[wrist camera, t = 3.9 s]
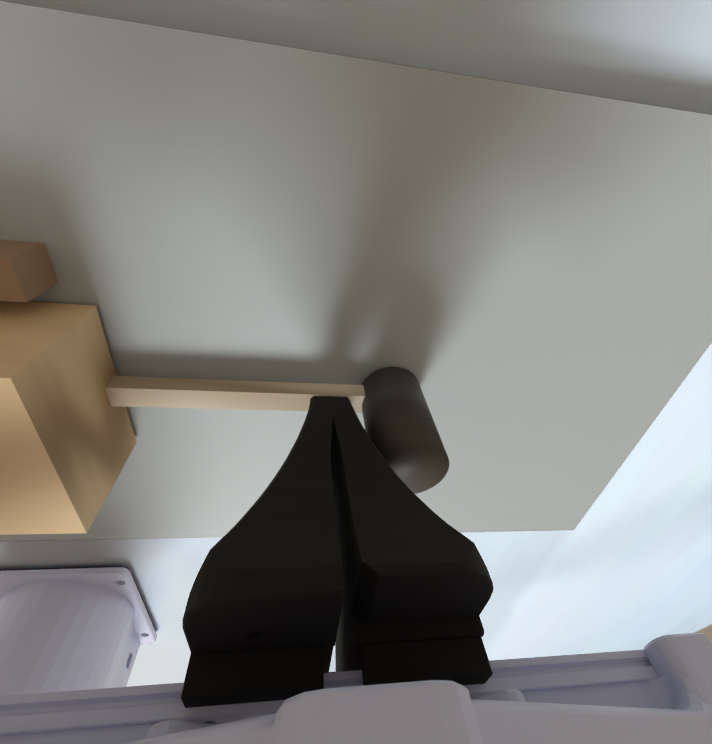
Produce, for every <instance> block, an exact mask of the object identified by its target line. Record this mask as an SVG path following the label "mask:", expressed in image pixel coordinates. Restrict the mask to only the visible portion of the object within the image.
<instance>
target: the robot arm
mask: <svg viewBox="0 0 712 744" xmlns="http://www.w3.org/2000/svg"><path fill="white" fill-rule="evenodd" d="M492 592H493V583H492V580H491V578H490V575H489V572H488V570H487V567H486V565H485V563H484V561H483V559H482V557H481V555H480V554H479V552H478V550H477V548H476V546H475V544H474V543H473V542H472V541H470V540H469V539H468V538H466V537H465V536H464V535H462V534H461V533H460V532H458V531H457V530H456V529H454V528H453V527H452V526H450V525H449V524H448V523H446V522H445V521H444V520H443V519H441V518H440V517H439V516H438V515H437V514H436V513H434V512H433V511H432V510H431V509H430V508H429V507H428V506H427V505H426V504H425V503H424V502H423V501H422V500H420V499H419V498H418V497H417V496H416V495H415V494H414V493H413V492H412V491H411V490H410V489H409V488H408V487H407V485H406V484H405V483H404V482H403V481H402V480H401V479H400V478H399V477H398V475H397V474H396V473H395V472H394V471H393V469H392V468H391V467H390V466H389V464H388V463H387V462H386V461H385V459H384V458H383V456H382V455H381V454H380V452H379V451H378V449H377V448H376V447H375V445H374V444H373V442H372V440H371V439H370V437H369V436H368V434H367V432H366V431H365V429H364V427H363V426H362V424H361V422H360V420H359V418H358V416H357V415H356V413H355V411H354V408H353V406H352V404H351V401H350V399H349V398H348V397H336V396H313V397H312V398H310V405H309V409H308V413H307V416H306V419H305V421H304V424H303V426H302V428H301V431H300V433H299V435H298V438H297V440H296V442H295V443H294V445H293V447H292V449H291V451H290V453H289V455H288V456H287V458H286V460H285V461H284V463H283V465H282V466H281V468H280V469H279V471H278V472H277V474H276V476H275V477H274V478H273V480H272V481H271V483H270V484H269V485H268V487H267V488H266V489H265V491H264V492H263V493H262V495H261V496H260V497H259V498H258V500H257V501H256V502H255V503H254V504H253V506H252V507H251V508H250V509H249V510H248V511H247V512H246V514H245V515H244V516H243V517H242V518H241V519H240V521H239V522H238V523H237V524H236V525H235V526H234V527H233V528H232V529H231V530H230V531H229V532H228V533H227V534H226V535H225V536H224V537H223V538H222V539H221V540H220V541H219V542H218V543H217V544H216V545H215V546H214V547H213V548H212V549H211V550H210V551H209V553H208V555H207V557H206V559H205V561H204V563H203V564H202V566H201V568H200V571H199V573H198V575H197V577H196V579H195V582H194V584H193V587H192V589H191V592H190V595H189V598H188V602H187V606H186V610H185V613H184V617H183V630H184V633H185V636H186V639H187V642H188V645H189V648H190V651H191V656H190V660H189V664H188V669H187V673H186V677H185V682H184V683H173V684H159V685H146V686H132V687H126V685H127V682H128V679H129V676H130V673H131V670H132V667H133V664H134V661H135V658H136V655H137V652H138V649H139V646H140V644H152V643H154V642H155V641H156V637H157V634H156V632H155V629H154V627H153V625H152V622H151V620H150V618H149V615H148V613H147V611H146V608H145V606H144V603H143V601H142V599H141V596H140V594H139V592H138V589H137V587H136V585H135V582H134V580H133V577H132V575H131V573H130V571H129V570H128V569H126V568H123V567H110V568H76V569H42V570H8V571H0V744H712V643H711V641H710V640H709V639H708V637H707V636H706V635H705V634H702V633H689V634H674V635H666V636H661V637H658V638H656V639H654V640H652V641H651V642H649V643H648V644H647V645H646V646H645V647H644V650H632V651H618V652H604V653H591V654H577V655H563V656H549V657H535V658H521V659H507V660H493V661H489V660H488V657H487V654H486V651H485V648H484V645H483V642H482V638H481V637H482V636H483V635H484V629H483V626H482V623H481V620H480V617H479V615H480V613H481V612H482V610H483V609H484V607H485V605H486V604H487V602H488V601H489V599H490V597H491V594H492ZM335 642H336V672H329V667H330V662H331V656H332V651H333V646H335Z"/></svg>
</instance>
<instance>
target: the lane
mask: <svg viewBox="0 0 712 744" xmlns="http://www.w3.org/2000/svg"><path fill="white" fill-rule="evenodd" d="M0 301H11V302H45V303H62V304H78V305H94V306H96V308H97V311H98V314H99V318H100V321H101V324H102V328H103V331H104V334H105V338H106V341H107V345H108V348H109V351H110V355H111V358H112V361H113V365H114V368H115V372H116V375H117V376H132V377H159V378H187V379H214V380H241V381H268V382H295V383H322V384H350V385H362V383H363V382H364V380H365V379H366V378H367V377H368V376H369V375H370V374H371V373H373V372H375V371H377V370H379V369H382V368H386V367H400V368H404V369H406V370H408V371H410V372H411V373H413V374H414V375H415V377H416V378H417V380H418V382H419V385H420V387H421V390H422V392H423V395H424V397H425V400H426V403H427V405H428V408H429V410H430V413H431V415H432V418H433V420H434V423H435V425H436V428H437V430H438V433H439V435H440V438H441V440H442V443H443V445H444V448H445V451H446V453H447V456H448V458H449V469H448V472H447V474H446V475H445V477H444V478H443V479H442V480H441V481H440V482H439V483H438V484H437V485H435V486H434V487H432V488H430V489H428V490H426V491H424V492H421V493H417V494H415V495H416V496H417V497H418V498H419V499H420V500H422V501H423V502H424V503H425V504H426V505H427V506H428V507H429V508H430V509H431V510H432V511H433V512H434V513H436V514H437V515H438V516H439V517H440V518H441V519H443V520H444V521H445V522H446V523H448V524H449V525H450V526H452V527H453V528H454V529H456V530H457V531H458V532H503V531H553V530H574V529H575V528H576V526H577V525H578V523H579V522H580V521H581V519H582V518H583V517H584V515H585V514H586V513H587V511H588V510H589V509H590V507H591V506H592V504H593V503H594V502H595V500H596V499H597V498H598V496H599V495H600V494H601V492H602V491H603V489H604V488H605V487H606V485H607V484H608V483H609V481H610V480H611V479H612V477H613V476H614V475H615V473H616V472H617V470H618V469H619V468H620V466H621V465H622V464H623V462H624V461H625V460H626V458H627V457H628V455H629V454H630V453H631V451H632V450H633V449H634V447H635V446H636V445H637V443H638V442H639V441H640V439H641V438H642V436H643V435H644V434H645V432H646V431H647V430H648V428H649V427H650V426H651V424H652V423H653V421H654V420H655V419H656V417H657V416H658V415H659V413H660V412H661V411H662V409H663V408H664V407H665V405H666V404H667V402H668V401H669V400H670V398H671V397H672V396H673V394H674V393H675V392H676V390H677V389H678V387H679V386H680V385H681V383H682V382H683V381H684V379H685V378H686V377H687V375H688V374H689V373H690V371H691V370H692V368H693V367H694V366H695V364H696V363H697V362H698V360H699V359H700V358H701V356H702V355H703V353H704V352H705V351H706V349H707V348H708V347H709V345H710V344H711V343H712V115H709V114H703V113H696V112H690V111H684V110H678V109H671V108H665V107H659V106H653V105H647V104H640V103H634V102H628V101H622V100H615V99H609V98H603V97H597V96H590V95H584V94H578V93H572V92H566V91H559V90H553V89H547V88H541V87H534V86H528V85H522V84H516V83H510V82H503V81H497V80H491V79H485V78H478V77H472V76H466V75H460V74H454V73H447V72H441V71H435V70H429V69H422V68H416V67H410V66H404V65H398V64H391V63H385V62H379V61H373V60H366V59H360V58H354V57H348V56H342V55H335V54H329V53H323V52H317V51H310V50H304V49H298V48H292V47H286V46H279V45H273V44H267V43H261V42H254V41H248V40H242V39H236V38H229V37H223V36H217V35H211V34H205V33H198V32H192V31H186V30H180V29H173V28H167V27H161V26H155V25H149V24H142V23H136V22H130V21H124V20H117V19H111V18H105V17H99V16H93V15H86V14H80V13H74V12H68V11H61V10H55V9H49V8H43V7H37V6H30V5H24V4H18V3H12V2H5V1H0ZM126 409H127V412H128V415H129V419H130V422H131V425H132V429H133V432H134V436H135V439H136V442H137V443H136V445H135V446H134V448H133V450H132V452H131V454H130V456H129V457H128V459H127V461H126V463H125V465H124V466H123V468H122V470H121V472H120V474H119V476H118V477H117V479H116V481H115V483H114V485H113V486H112V488H111V490H110V492H109V494H108V495H107V497H106V499H105V501H104V503H103V505H102V506H101V508H100V510H99V512H98V514H97V515H96V517H95V519H94V521H93V523H92V525H91V526H90V528H89V530H88V532H87V533H75V534H18V535H0V542H1V541H51V540H102V539H152V538H202V537H224V536H225V535H226V534H227V533H228V532H229V531H230V530H231V529H232V528H233V527H234V526H235V525H236V524H237V523H238V522H239V521H240V519H241V518H242V517H243V516H244V515H245V514H246V512H247V511H248V510H249V509H250V508H251V507H252V506H253V504H254V503H255V502H256V501H257V500H258V498H259V497H260V496H261V495H262V493H263V492H264V491H265V489H266V488H267V487H268V485H269V484H270V483H271V481H272V480H273V478H274V477H275V476H276V474H277V472H278V471H279V469H280V468H281V466H282V465H283V463H284V461H285V460H286V458H287V456H288V455H289V453H290V451H291V449H292V447H293V445H294V443H295V442H296V440H297V438H298V435H299V433H300V431H301V428H302V426H303V424H304V421H305V419H306V416H307V413H308V411H276V410H237V409H199V408H161V407H126ZM356 415H357V416H358V418H359V420H360V422H361V424H362V426H363V427H364V429H365V425H364V419H363V413H356Z"/></svg>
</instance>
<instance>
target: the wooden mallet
mask: <svg viewBox="0 0 712 744" xmlns="http://www.w3.org/2000/svg"><path fill="white" fill-rule="evenodd" d="M313 396H336V397H348V398H349V399H350V401H351V404H352V406H353V408H354V411H355V413H363V419H364V425H365V431H366V432H367V434H368V436H369V437H370V439H371V440H372V442H373V444H374V445H375V447H376V448H377V449H378V451H379V452H380V454H381V455H382V456H383V458H384V459H385V461H386V462H387V463H388V464H389V466H390V467H391V468H392V469H393V471H394V472H395V473H396V474H397V475H398V477H399V478H400V479H401V480H402V481H403V482H404V483H405V484H406V485H407V487H408V488H409V489H410V490H411V491H412V492H413V493H414V494H417V493H421V492H424V491H426V490H428V489H430V488H432V487H434V486H435V485H437V484H438V483H439V482H440V481H441V480H442V479H443V478H444V477H445V475H446V474H447V472H448V469H449V458H448V456H447V453H446V451H445V448H444V445H443V443H442V440H441V438H440V435H439V433H438V430H437V428H436V425H435V423H434V420H433V418H432V415H431V413H430V410H429V408H428V405H427V403H426V400H425V397H424V395H423V392H422V390H421V387H420V385H419V382H418V380H417V378H416V377H415V375H414V374H413V373H411V372H410V371H408V370H406V369H404V368H400V367H386V368H382V369H379V370H377V371H375V372H373V373H371V374H370V375H369V376H368V377H367V378H366V379H365V380H364V382H363V383H362V385H350V384H322V383H295V382H268V381H241V380H214V379H187V378H159V377H132V376H117V375H116V372H115V368H114V365H113V361H112V358H111V355H110V351H109V348H108V345H107V341H106V338H105V334H104V331H103V328H102V324H101V321H100V318H99V314H98V311H97V308H96V306H94V305H78V304H62V303H45V302H11V301H0V535H18V534H75V533H87V532H88V530H89V528H90V526H91V525H92V523H93V521H94V519H95V517H96V515H97V514H98V512H99V510H100V508H101V506H102V505H103V503H104V501H105V499H106V497H107V495H108V494H109V492H110V490H111V488H112V486H113V485H114V483H115V481H116V479H117V477H118V476H119V474H120V472H121V470H122V468H123V466H124V465H125V463H126V461H127V459H128V457H129V456H130V454H131V452H132V450H133V448H134V446H135V445H136V443H137V442H136V439H135V436H134V432H133V429H132V425H131V422H130V419H129V415H128V412H127V409H126V407H161V408H199V409H237V410H276V411H308V409H309V405H310V398H312V397H313Z"/></svg>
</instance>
